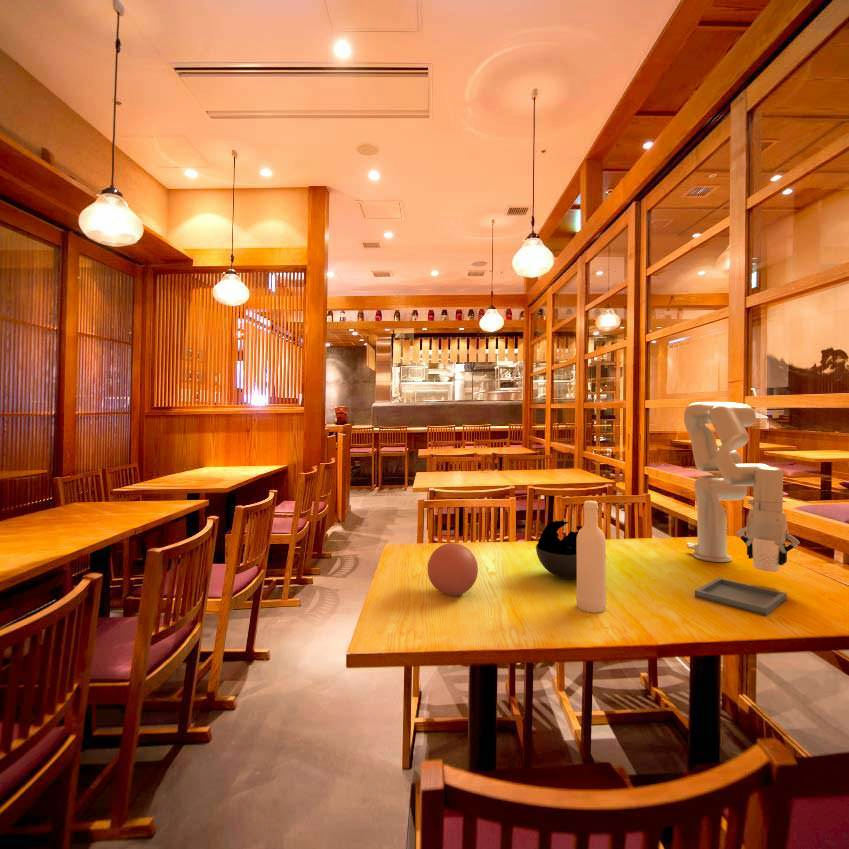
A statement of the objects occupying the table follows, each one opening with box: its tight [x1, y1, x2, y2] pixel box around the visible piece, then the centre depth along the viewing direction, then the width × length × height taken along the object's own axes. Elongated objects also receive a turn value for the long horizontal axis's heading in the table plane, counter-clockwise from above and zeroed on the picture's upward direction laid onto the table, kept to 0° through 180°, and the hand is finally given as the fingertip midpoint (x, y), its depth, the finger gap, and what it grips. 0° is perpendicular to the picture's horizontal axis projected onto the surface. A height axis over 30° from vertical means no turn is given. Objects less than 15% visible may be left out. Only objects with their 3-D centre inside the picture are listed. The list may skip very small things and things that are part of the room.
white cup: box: [752, 537, 781, 573], centre depth 151 cm, size 8×8×10 cm
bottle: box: [576, 500, 607, 614], centre depth 134 cm, size 8×8×30 cm
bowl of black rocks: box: [535, 520, 583, 580], centre depth 160 cm, size 20×20×19 cm
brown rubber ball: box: [427, 542, 479, 596], centre depth 148 cm, size 15×20×15 cm
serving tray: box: [694, 577, 788, 617], centre depth 140 cm, size 18×18×2 cm
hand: (766, 560), depth 151 cm, fingers closed on white cup, 7 cm apart
